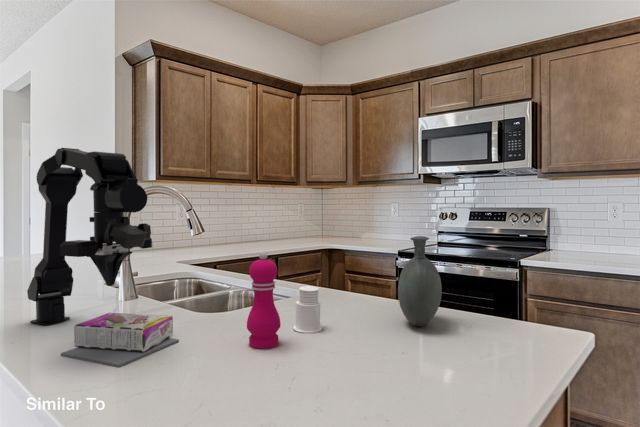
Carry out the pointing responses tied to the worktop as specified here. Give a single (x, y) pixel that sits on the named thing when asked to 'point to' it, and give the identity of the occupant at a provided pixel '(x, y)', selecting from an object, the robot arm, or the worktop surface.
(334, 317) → the worktop surface
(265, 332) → the pepper mill
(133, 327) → the candy bar box
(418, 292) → the flask
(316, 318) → the downlight
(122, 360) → the mat
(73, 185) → the robot arm
